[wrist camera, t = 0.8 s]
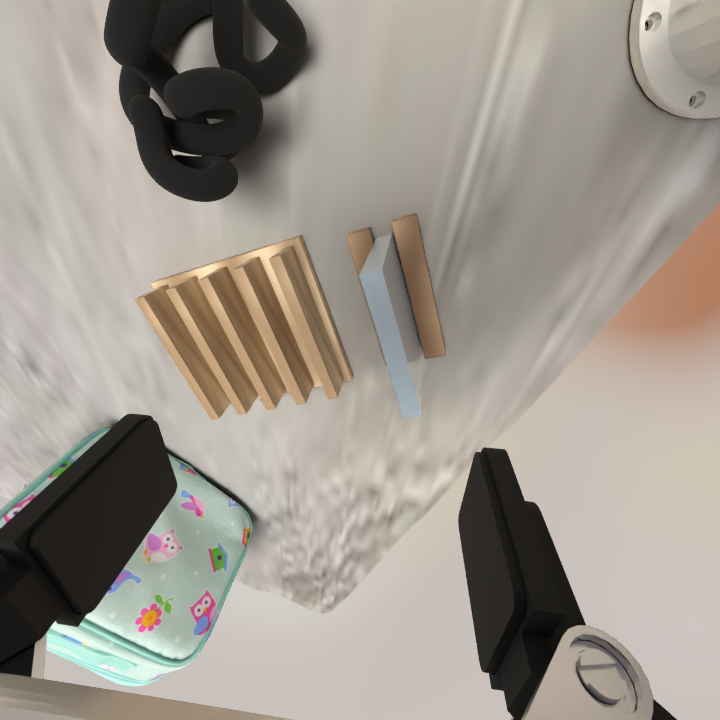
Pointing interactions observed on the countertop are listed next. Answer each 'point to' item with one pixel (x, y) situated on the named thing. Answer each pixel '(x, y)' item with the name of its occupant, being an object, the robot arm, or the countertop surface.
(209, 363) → the dish rack
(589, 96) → the countertop surface
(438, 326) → the wooden slats
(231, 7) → the squiggle
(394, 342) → the plate
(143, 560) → the lunch box
